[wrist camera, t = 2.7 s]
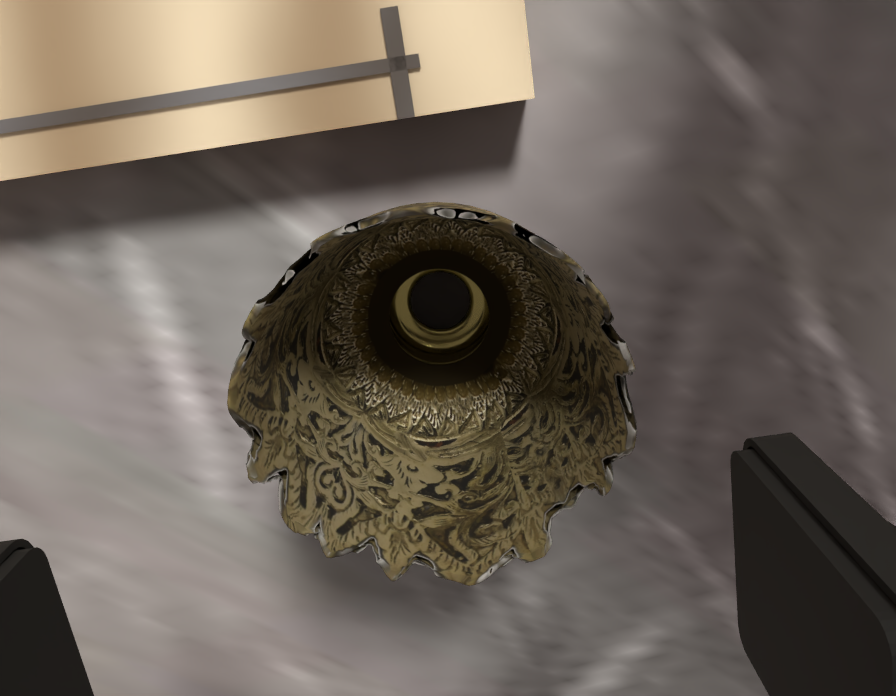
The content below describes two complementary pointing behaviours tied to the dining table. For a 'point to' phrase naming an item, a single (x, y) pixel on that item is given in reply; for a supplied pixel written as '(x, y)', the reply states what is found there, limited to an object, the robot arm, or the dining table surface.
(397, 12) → the maple board
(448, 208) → the cup
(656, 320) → the dining table surface
